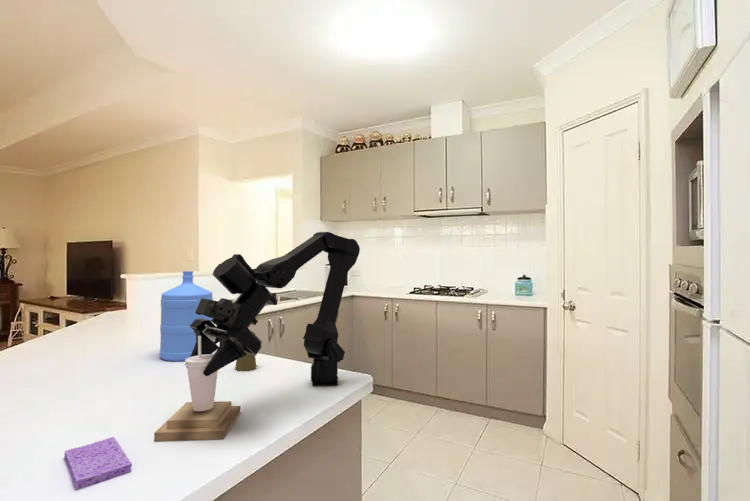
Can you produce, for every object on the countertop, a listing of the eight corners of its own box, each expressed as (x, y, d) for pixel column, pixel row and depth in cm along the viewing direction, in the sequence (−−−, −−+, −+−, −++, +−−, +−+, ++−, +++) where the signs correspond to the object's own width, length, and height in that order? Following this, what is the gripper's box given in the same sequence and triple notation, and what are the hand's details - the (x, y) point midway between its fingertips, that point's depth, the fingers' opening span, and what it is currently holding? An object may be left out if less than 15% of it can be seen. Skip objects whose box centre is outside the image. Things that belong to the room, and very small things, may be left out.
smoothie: (185, 405, 78) (184, 334, 78) (220, 399, 80) (219, 331, 81) (184, 416, 72) (184, 340, 72) (222, 410, 74) (221, 336, 75)
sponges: (75, 494, 55) (75, 480, 55) (63, 460, 64) (63, 448, 64) (132, 474, 60) (132, 462, 60) (114, 446, 69) (114, 435, 69)
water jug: (198, 362, 121) (200, 272, 122) (149, 361, 122) (150, 272, 122) (219, 350, 137) (220, 270, 137) (175, 349, 137) (176, 270, 138)
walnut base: (240, 412, 82) (240, 398, 83) (223, 439, 71) (223, 422, 71) (182, 414, 82) (182, 399, 82) (154, 441, 70) (154, 424, 70)
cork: (250, 372, 111) (250, 333, 111) (230, 370, 112) (231, 332, 113) (260, 366, 117) (260, 330, 117) (242, 365, 118) (242, 329, 119)
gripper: (198, 281, 85) (144, 340, 77) (248, 286, 74) (190, 356, 65) (231, 313, 91) (184, 371, 83) (281, 321, 80) (233, 390, 71)
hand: (196, 371), depth 75 cm, fingers closed on smoothie, 6 cm apart
